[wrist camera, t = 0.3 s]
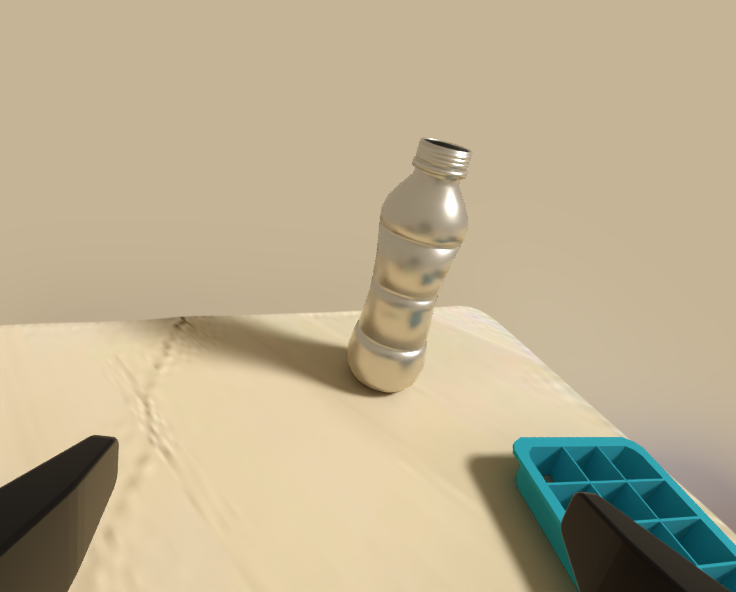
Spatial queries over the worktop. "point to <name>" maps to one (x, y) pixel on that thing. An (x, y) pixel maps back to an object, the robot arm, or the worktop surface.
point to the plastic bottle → (410, 267)
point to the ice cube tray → (619, 497)
